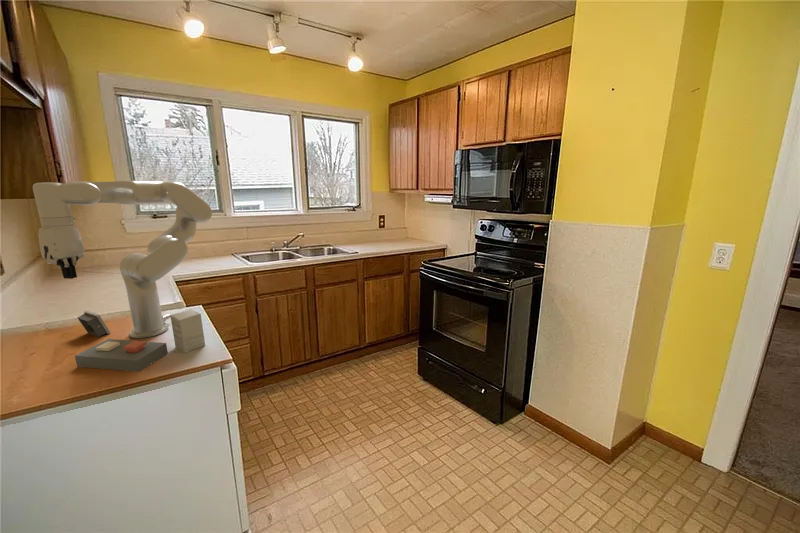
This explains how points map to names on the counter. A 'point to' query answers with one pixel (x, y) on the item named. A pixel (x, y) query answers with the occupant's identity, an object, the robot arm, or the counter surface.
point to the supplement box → (187, 330)
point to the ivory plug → (108, 346)
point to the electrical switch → (93, 324)
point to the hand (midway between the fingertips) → (70, 277)
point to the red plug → (134, 346)
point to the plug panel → (121, 356)
